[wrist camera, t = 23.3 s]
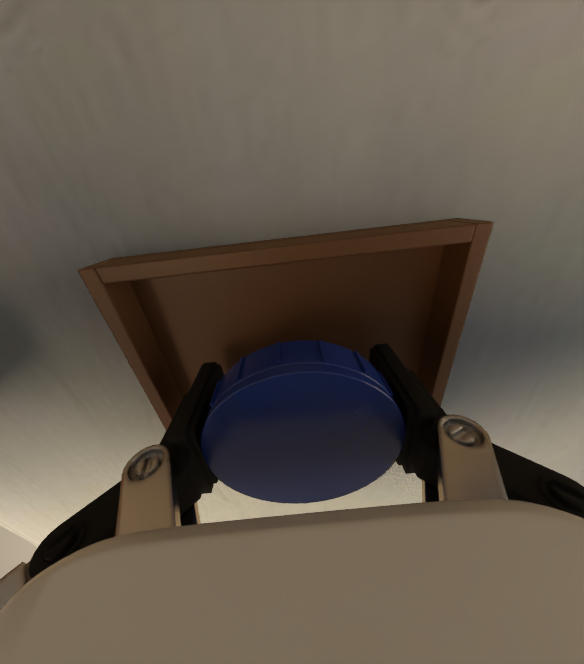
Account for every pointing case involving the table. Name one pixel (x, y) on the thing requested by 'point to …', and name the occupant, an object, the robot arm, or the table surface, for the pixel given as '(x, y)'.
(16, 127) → the table surface
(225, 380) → the jar lid
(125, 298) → the tray
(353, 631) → the robot arm
